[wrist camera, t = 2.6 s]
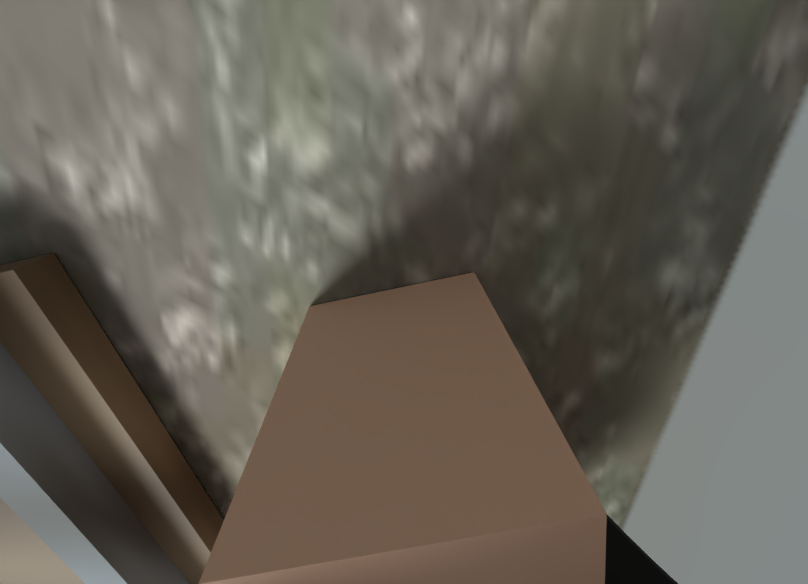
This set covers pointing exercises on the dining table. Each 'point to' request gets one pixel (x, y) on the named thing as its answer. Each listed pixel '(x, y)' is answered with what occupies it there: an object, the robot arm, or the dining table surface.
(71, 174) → the dining table surface
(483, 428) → the block
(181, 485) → the walnut cradle
